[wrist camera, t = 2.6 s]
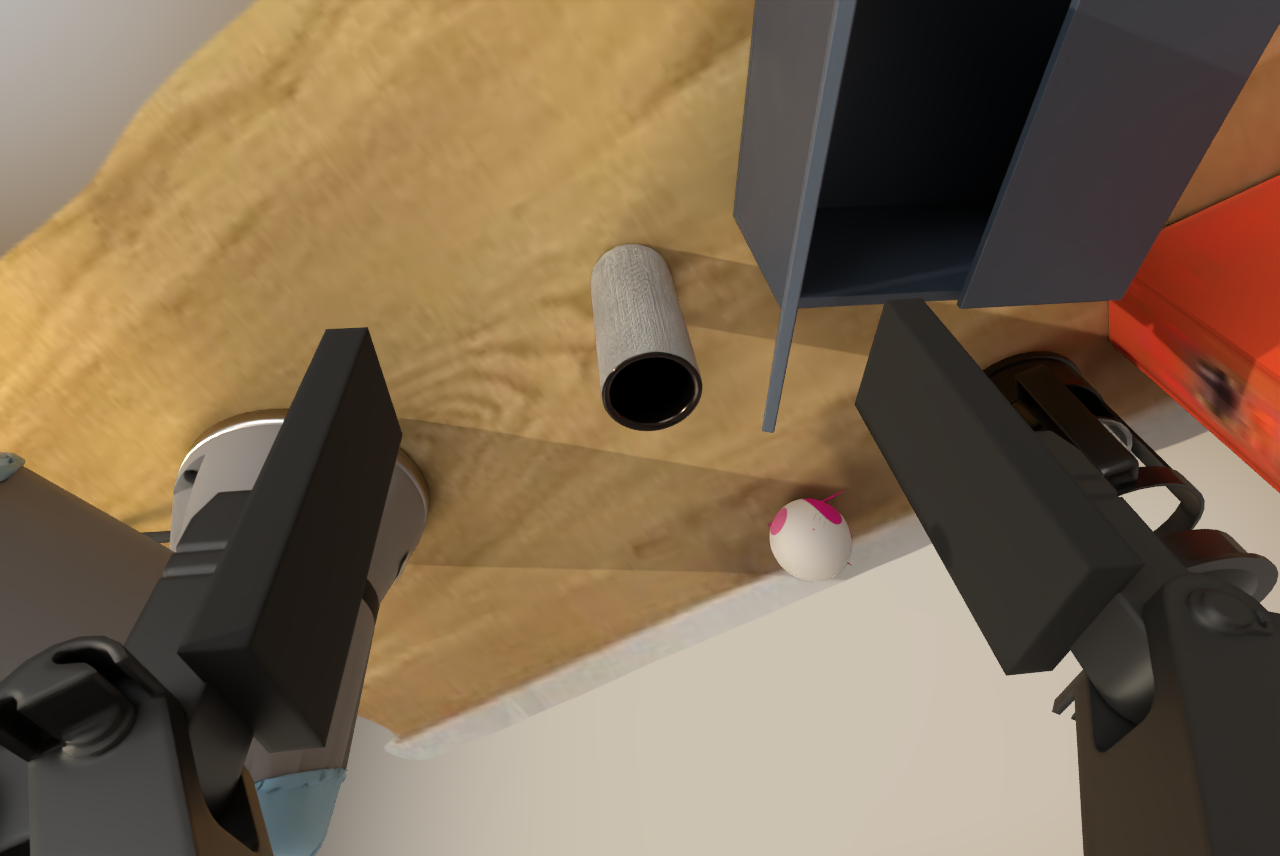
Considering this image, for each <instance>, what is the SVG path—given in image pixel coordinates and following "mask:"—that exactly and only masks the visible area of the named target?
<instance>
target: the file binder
mask: <svg viewBox="0 0 1280 856" xmlns="http://www.w3.org/2000/svg"><path fill="white" fill-rule="evenodd" d="M1109 341H1110V342H1111V343H1112V345H1113V346H1114V347H1115V348H1116V349H1117V350H1118V351H1120V352H1121V353H1122V354H1123V355H1124V356H1125V357H1126V358H1128V359H1129V360H1130V361H1131V362H1132V363H1133V364H1134V365H1135V366H1137V367H1138V368H1139V369H1140V370H1141V371H1142V372H1143V373H1145V374H1146V375H1147V376H1148V377H1149V378H1150V379H1151V380H1152V381H1154V382H1155V383H1156V384H1157V385H1158V386H1159V387H1160V388H1161V389H1163V390H1164V391H1165V392H1166V393H1167V394H1168V395H1169V396H1171V397H1172V398H1173V399H1174V400H1175V401H1176V402H1177V403H1178V404H1180V405H1181V406H1182V407H1183V408H1184V409H1185V410H1186V411H1188V412H1189V413H1190V414H1191V415H1192V416H1193V417H1194V418H1195V419H1197V420H1198V421H1199V422H1200V423H1201V424H1202V425H1203V426H1204V427H1206V428H1207V429H1208V430H1209V431H1210V432H1211V433H1213V434H1214V435H1215V436H1216V437H1217V438H1218V439H1219V440H1220V441H1222V442H1223V443H1224V444H1225V445H1226V446H1227V447H1228V448H1230V449H1231V450H1232V451H1233V452H1234V453H1235V454H1236V455H1237V456H1239V457H1240V458H1241V459H1242V460H1243V461H1244V462H1245V463H1246V464H1248V465H1249V466H1250V467H1251V468H1252V469H1253V470H1254V471H1255V472H1257V473H1258V474H1259V475H1260V476H1261V477H1262V478H1263V479H1264V480H1266V481H1267V482H1268V483H1269V484H1270V485H1271V486H1272V487H1274V488H1275V489H1276V490H1277V491H1278V492H1279V493H1280V175H1278V176H1276V177H1274V178H1272V179H1270V180H1268V181H1265V182H1263V183H1261V184H1259V185H1257V186H1255V187H1252V188H1250V189H1248V190H1246V191H1244V192H1242V193H1239V194H1237V195H1235V196H1233V197H1231V198H1229V199H1226V200H1224V201H1222V202H1220V203H1218V204H1216V205H1213V206H1211V207H1209V208H1207V209H1205V210H1203V211H1200V212H1198V213H1196V214H1194V215H1192V216H1190V217H1187V218H1185V219H1183V220H1181V221H1179V222H1177V223H1174V224H1172V225H1170V226H1168V227H1166V228H1164V229H1162V230H1161V232H1160V233H1159V235H1158V237H1157V239H1156V240H1155V242H1154V244H1153V246H1152V247H1151V249H1150V251H1149V253H1148V254H1147V256H1146V258H1145V260H1144V261H1143V263H1142V265H1141V267H1140V268H1139V270H1138V272H1137V274H1136V275H1135V277H1134V279H1133V281H1132V282H1131V284H1130V286H1129V288H1128V289H1127V291H1126V293H1125V295H1124V296H1123V298H1122V300H1112V301H1109Z"/></svg>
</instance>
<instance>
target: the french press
mask: <svg viewBox="0 0 1280 856" xmlns="http://www.w3.org/2000/svg"><path fill="white" fill-rule="evenodd" d="M983 372H984V373H985V374H986V375H987V376H988V378H989V379H990V380H991V381H992V382H993V384H994V385H995V386H996V387H997V388H998V390H999V391H1000V392H1001V393H1002V394H1003V395H1004V397H1005V398H1006V399H1007V400H1008V401H1009V403H1010V404H1011V405H1012V404H1013V403H1015V402H1017V401H1018V400H1020V401H1021V402H1022V404H1023V405H1024V406H1025V407H1026V408H1027V409H1028V410H1029V412H1030V413H1031V414H1032V415H1033V416H1034V417H1035V419H1036V420H1037V421H1038V422H1039V423H1040V425H1038V426H1037V427H1036V428H1034V429H1033V431H1034V432H1036V431H1050V430H1051V431H1052V432H1054V433H1055V434H1057V435H1058V436H1060V437H1061V438H1063V439H1064V440H1066V441H1067V442H1069V443H1070V444H1072V445H1073V446H1075V447H1076V448H1078V449H1079V450H1081V452H1082V453H1083V454H1084V455H1085V456H1086V457H1087V458H1088V459H1089V461H1090V462H1091V463H1092V464H1093V465H1094V466H1095V467H1096V468H1097V469H1098V471H1099V472H1100V473H1101V474H1100V476H1101V478H1106V480H1107V481H1108V482H1109V483H1110V484H1111V485H1112V486H1113V487H1114V489H1115V490H1116V491H1117V492H1118V493H1117V495H1118V496H1120V495H1123V494H1126V493H1129V492H1132V491H1136V490H1139V489H1144V488H1150V487H1155V486H1166V487H1167V488H1168V489H1169V490H1170V491H1171V492H1172V493H1173V494H1174V495H1175V496H1176V497H1177V498H1178V499H1179V500H1180V501H1181V503H1180V504H1179V506H1178V507H1177V509H1176V511H1175V512H1174V513H1173V514H1172V515H1171V516H1170V518H1169V519H1168V520H1167V521H1166V522H1164V523H1163V524H1162V525H1161V526H1160V527H1159V528H1158V529H1156V530H1155V531H1154V533H1155V534H1156V536H1157V537H1158V538H1159V539H1160V540H1161V541H1162V542H1163V543H1164V544H1165V546H1166V547H1167V548H1168V549H1169V550H1170V551H1171V552H1172V553H1173V555H1174V556H1175V557H1176V558H1177V559H1178V560H1179V561H1180V562H1181V563H1182V565H1183V566H1184V567H1185V568H1186V569H1187V570H1188V571H1189V572H1194V573H1200V574H1206V575H1211V576H1214V577H1216V578H1219V579H1221V580H1224V581H1226V582H1229V583H1231V584H1234V585H1235V586H1237V587H1238V588H1240V589H1241V590H1243V591H1244V592H1246V593H1247V594H1249V595H1251V596H1252V597H1254V598H1255V599H1256V600H1257V601H1258V602H1259V603H1260V602H1261V601H1262V600H1263V599H1264V598H1265V597H1266V596H1267V595H1268V594H1269V592H1270V591H1271V590H1272V589H1273V587H1274V585H1275V584H1276V582H1277V578H1278V571H1277V568H1276V566H1275V565H1274V564H1273V563H1272V562H1271V561H1269V560H1268V559H1267V558H1266V557H1264V556H1261V555H1257V554H1254V553H1247V552H1246V551H1245V550H1244V549H1243V548H1242V547H1241V546H1240V545H1239V544H1238V543H1237V542H1236V541H1235V540H1234V539H1233V538H1232V537H1231V536H1230V535H1228V534H1227V533H1224V532H1222V531H1219V530H1212V529H1211V530H1210V529H1197V530H1192V529H1193V528H1194V527H1195V526H1196V524H1197V523H1198V521H1199V520H1200V518H1201V516H1202V513H1203V511H1204V498H1203V496H1202V494H1201V493H1200V492H1199V491H1198V490H1197V489H1196V488H1195V487H1194V486H1193V485H1192V484H1191V483H1190V482H1189V481H1188V480H1187V479H1186V478H1185V477H1184V476H1183V475H1181V474H1180V473H1179V472H1178V471H1176V470H1173V469H1172V468H1171V467H1170V466H1169V465H1168V464H1167V463H1166V462H1165V461H1164V460H1163V459H1162V458H1161V457H1160V456H1159V455H1158V454H1156V452H1155V451H1154V450H1153V449H1152V448H1151V447H1149V446H1148V445H1147V444H1146V443H1145V442H1144V441H1143V440H1142V439H1141V438H1140V437H1139V436H1138V435H1137V434H1136V433H1135V432H1134V431H1133V430H1132V429H1131V428H1130V427H1129V426H1128V425H1127V424H1126V423H1125V422H1124V421H1123V420H1122V419H1121V418H1120V417H1119V416H1118V415H1117V414H1116V413H1115V412H1114V411H1113V410H1112V409H1111V408H1110V407H1109V406H1108V405H1107V404H1106V403H1105V402H1104V401H1103V399H1102V397H1101V395H1100V394H1099V393H1098V392H1097V391H1096V390H1095V389H1094V388H1093V387H1092V386H1091V385H1090V384H1089V383H1088V382H1087V381H1086V380H1085V379H1084V378H1083V377H1082V376H1081V374H1080V372H1079V370H1078V368H1077V366H1076V365H1075V364H1074V363H1072V362H1071V361H1070V360H1069V359H1068V358H1066V357H1064V356H1061V355H1059V354H1056V353H1050V352H1031V353H1026V354H1021V355H1017V356H1014V357H1011V358H1008V359H1005V360H1003V361H1001V362H999V363H997V364H995V365H993V366H991V367H989V368H988V369H986V370H984V371H983ZM1130 451H1132V452H1133V453H1134V454H1135V455H1136V456H1137V457H1138V458H1139V459H1140V460H1141V462H1142V463H1144V465H1145V466H1146V467H1139V463H1138V460H1137V459H1136V458H1135V457H1134V456H1133V455H1132V454H1131V453H1130Z"/></svg>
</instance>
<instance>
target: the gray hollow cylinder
mask: <svg viewBox="0 0 1280 856" xmlns="http://www.w3.org/2000/svg"><path fill="white" fill-rule="evenodd" d="M591 296H592V306H593V316H594V327H595V337H596V347H597V357H598V367H599V378H600V388H601V397H602V402H603V405H604V408H605V410H606V411H607V413H608V414H609V415H610V417H611V418H612V419H614V420H615V421H616V422H618V423H619V424H621V425H623V426H625V427H627V428H630V429H634V430H639V431H655V430H661V429H665V428H668V427H671V426H673V425H675V424H677V423H679V422H681V421H682V420H684V419H685V418H686V417H687V416H689V415H690V414H691V413H692V411H693V410H694V409H695V408H696V406H697V404H698V402H699V400H700V398H701V394H702V380H701V376H700V372H699V369H698V365H697V362H696V358H695V355H694V351H693V348H692V345H691V341H690V338H689V334H688V331H687V327H686V324H685V321H684V317H683V314H682V310H681V307H680V303H679V300H678V297H677V293H676V290H675V286H674V283H673V279H672V276H671V273H670V270H669V268H668V265H667V263H666V261H665V260H664V259H663V257H662V256H661V255H660V254H659V253H658V252H656V251H655V250H653V249H651V248H649V247H647V246H644V245H639V244H626V245H621V246H618V247H615V248H613V249H611V250H609V251H608V252H606V253H605V254H604V255H603V256H602V257H601V258H600V259H599V260H598V261H597V263H596V265H595V266H594V268H593V271H592V275H591Z"/></svg>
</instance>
